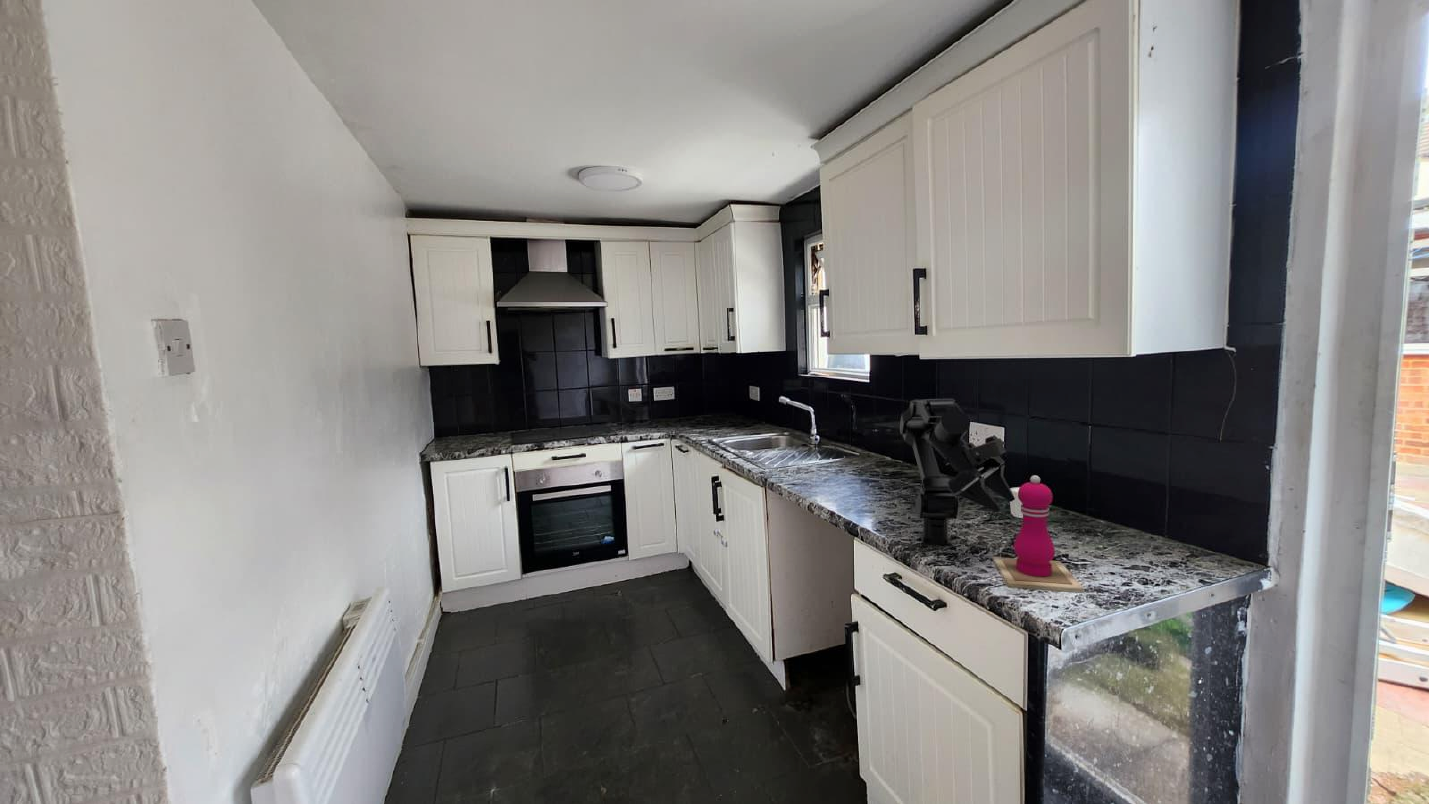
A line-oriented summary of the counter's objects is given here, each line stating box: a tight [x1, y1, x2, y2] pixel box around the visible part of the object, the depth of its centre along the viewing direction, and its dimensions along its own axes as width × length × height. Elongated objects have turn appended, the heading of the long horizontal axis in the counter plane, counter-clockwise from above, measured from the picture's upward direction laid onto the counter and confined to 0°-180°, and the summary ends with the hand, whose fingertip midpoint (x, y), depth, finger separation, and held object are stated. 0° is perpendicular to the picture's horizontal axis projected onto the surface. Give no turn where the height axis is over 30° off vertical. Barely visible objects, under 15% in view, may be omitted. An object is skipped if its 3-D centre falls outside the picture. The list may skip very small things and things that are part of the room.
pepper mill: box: [1013, 474, 1056, 577], centre depth 108 cm, size 7×7×20 cm
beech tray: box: [992, 556, 1085, 594], centre depth 109 cm, size 13×13×1 cm
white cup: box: [1009, 486, 1023, 519], centre depth 144 cm, size 7×7×7 cm
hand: (1006, 505), depth 112 cm, fingers open, 9 cm apart
